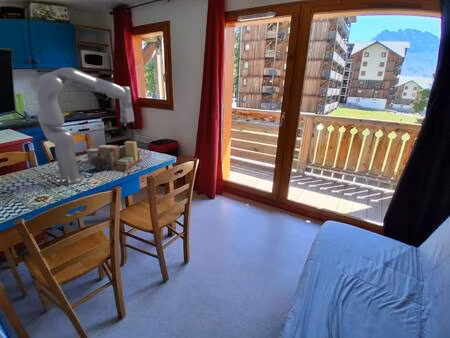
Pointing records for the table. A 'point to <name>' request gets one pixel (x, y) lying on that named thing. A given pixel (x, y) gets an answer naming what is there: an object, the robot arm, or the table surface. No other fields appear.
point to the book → (131, 149)
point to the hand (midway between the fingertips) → (128, 130)
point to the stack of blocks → (102, 151)
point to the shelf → (118, 156)
